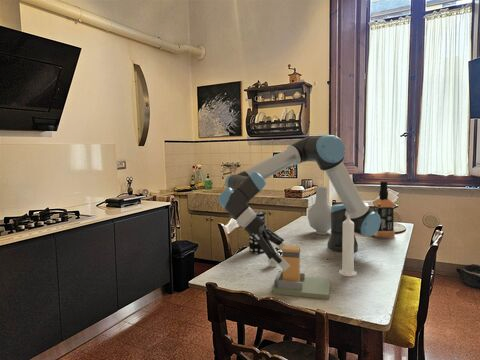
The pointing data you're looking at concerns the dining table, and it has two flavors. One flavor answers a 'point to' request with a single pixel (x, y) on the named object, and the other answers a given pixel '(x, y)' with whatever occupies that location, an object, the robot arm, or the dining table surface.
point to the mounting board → (302, 286)
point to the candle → (348, 249)
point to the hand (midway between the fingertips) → (289, 262)
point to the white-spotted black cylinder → (253, 244)
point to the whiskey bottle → (384, 213)
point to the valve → (271, 261)
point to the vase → (320, 212)
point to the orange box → (291, 263)
